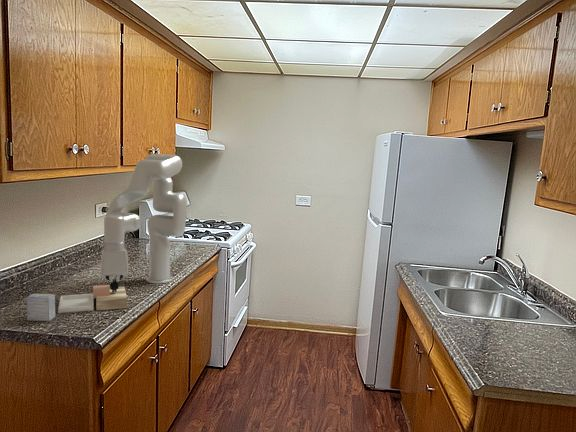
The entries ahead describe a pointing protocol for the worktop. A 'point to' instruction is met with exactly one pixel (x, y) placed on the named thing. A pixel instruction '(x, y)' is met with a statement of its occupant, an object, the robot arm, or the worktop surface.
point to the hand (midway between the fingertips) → (114, 290)
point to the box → (76, 303)
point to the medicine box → (40, 307)
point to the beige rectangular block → (112, 300)
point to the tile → (101, 290)
